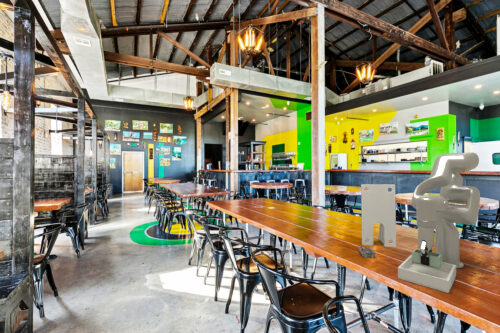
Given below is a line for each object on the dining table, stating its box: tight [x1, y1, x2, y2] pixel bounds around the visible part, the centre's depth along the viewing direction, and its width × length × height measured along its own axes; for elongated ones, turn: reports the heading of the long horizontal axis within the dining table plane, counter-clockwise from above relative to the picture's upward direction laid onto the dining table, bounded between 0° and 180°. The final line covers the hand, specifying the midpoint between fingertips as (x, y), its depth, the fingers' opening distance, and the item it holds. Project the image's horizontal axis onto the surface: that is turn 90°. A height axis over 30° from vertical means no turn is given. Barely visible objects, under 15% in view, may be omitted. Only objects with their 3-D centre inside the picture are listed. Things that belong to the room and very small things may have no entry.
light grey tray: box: [397, 254, 457, 294], centre depth 109 cm, size 22×18×5 cm
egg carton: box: [358, 245, 376, 259], centre depth 138 cm, size 11×8×4 cm
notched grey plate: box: [360, 183, 397, 248], centre depth 160 cm, size 20×14×40 cm
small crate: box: [411, 248, 442, 269], centre depth 109 cm, size 6×10×5 cm, turn 43°
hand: (426, 262), depth 109 cm, fingers closed on small crate, 6 cm apart
